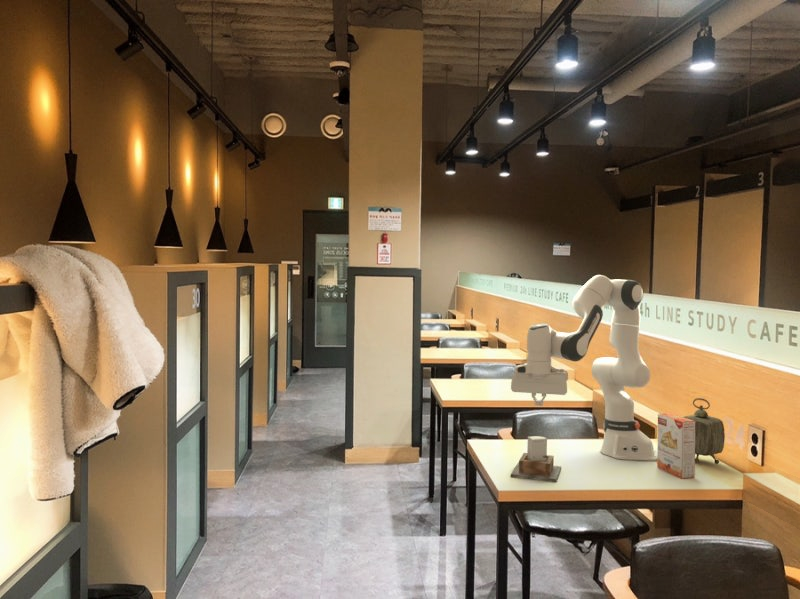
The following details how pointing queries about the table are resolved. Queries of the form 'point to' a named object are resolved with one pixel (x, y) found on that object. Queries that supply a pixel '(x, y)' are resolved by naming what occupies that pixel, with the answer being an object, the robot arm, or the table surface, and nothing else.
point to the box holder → (536, 469)
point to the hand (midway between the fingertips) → (538, 405)
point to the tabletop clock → (707, 433)
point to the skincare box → (537, 449)
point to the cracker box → (676, 445)
